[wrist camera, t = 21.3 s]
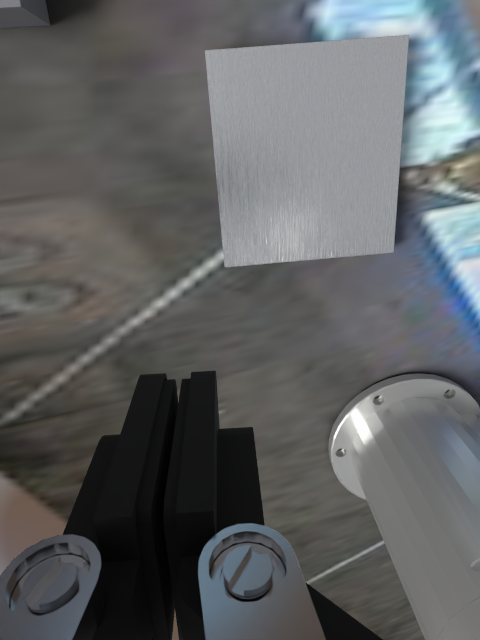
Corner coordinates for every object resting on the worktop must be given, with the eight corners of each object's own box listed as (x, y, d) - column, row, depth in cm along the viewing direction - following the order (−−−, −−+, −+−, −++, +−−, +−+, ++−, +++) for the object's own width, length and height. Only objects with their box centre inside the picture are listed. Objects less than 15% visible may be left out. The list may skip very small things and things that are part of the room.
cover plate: (205, 55, 25) (394, 41, 25) (223, 258, 30) (382, 244, 30) (205, 50, 23) (409, 34, 24) (224, 267, 28) (393, 252, 28)
